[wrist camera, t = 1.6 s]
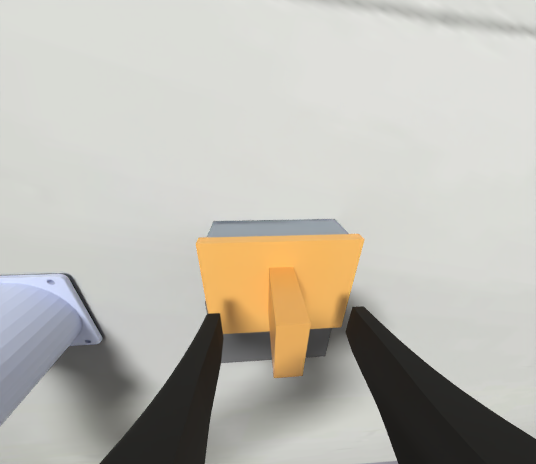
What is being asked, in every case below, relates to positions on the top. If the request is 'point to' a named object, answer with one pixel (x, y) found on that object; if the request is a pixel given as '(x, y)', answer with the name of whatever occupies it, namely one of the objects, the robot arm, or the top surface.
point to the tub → (275, 228)
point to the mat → (267, 345)
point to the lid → (279, 287)
